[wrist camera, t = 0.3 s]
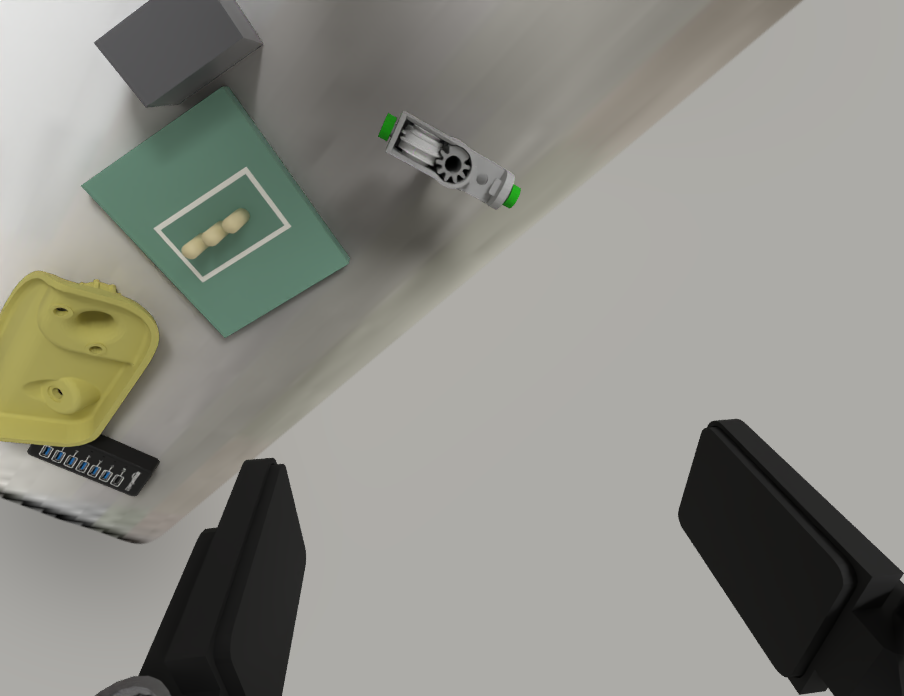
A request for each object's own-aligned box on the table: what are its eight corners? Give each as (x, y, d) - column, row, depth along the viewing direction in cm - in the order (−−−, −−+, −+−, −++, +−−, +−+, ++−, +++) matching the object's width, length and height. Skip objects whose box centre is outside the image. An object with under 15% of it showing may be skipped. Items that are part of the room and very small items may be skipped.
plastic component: (90, 449, 49) (-48, 437, 41) (94, 393, 53) (-29, 373, 46) (180, 317, 41) (33, 275, 34) (177, 265, 46) (46, 218, 38)
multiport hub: (56, 411, 49) (41, 425, 47) (162, 458, 53) (153, 473, 51) (40, 439, 50) (25, 454, 48) (144, 483, 54) (135, 498, 52)
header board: (91, 182, 39) (53, 194, 35) (228, 86, 37) (206, 86, 32) (229, 330, 46) (212, 356, 42) (349, 258, 44) (345, 277, 40)
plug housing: (134, 48, 35) (93, 42, 30) (223, -18, 34) (195, -35, 29) (177, 104, 37) (145, 107, 32) (263, 44, 36) (243, 37, 31)
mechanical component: (483, 192, 43) (506, 220, 34) (377, 134, 40) (373, 148, 31) (500, 161, 42) (528, 181, 33) (392, 98, 38) (392, 102, 30)
